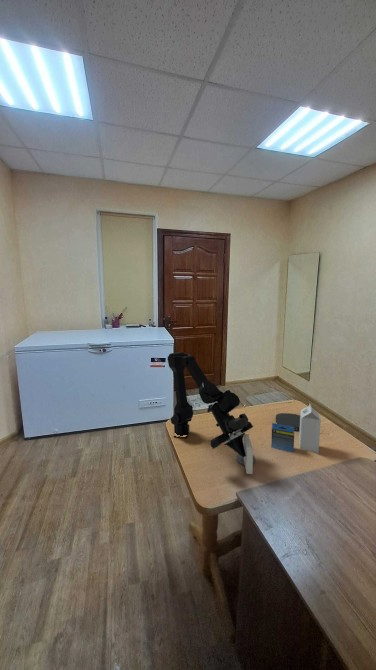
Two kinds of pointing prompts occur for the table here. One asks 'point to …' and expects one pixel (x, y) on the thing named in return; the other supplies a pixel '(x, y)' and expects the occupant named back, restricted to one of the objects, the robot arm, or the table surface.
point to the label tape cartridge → (282, 437)
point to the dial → (247, 455)
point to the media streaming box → (288, 420)
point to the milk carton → (309, 430)
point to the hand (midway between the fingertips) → (244, 456)
